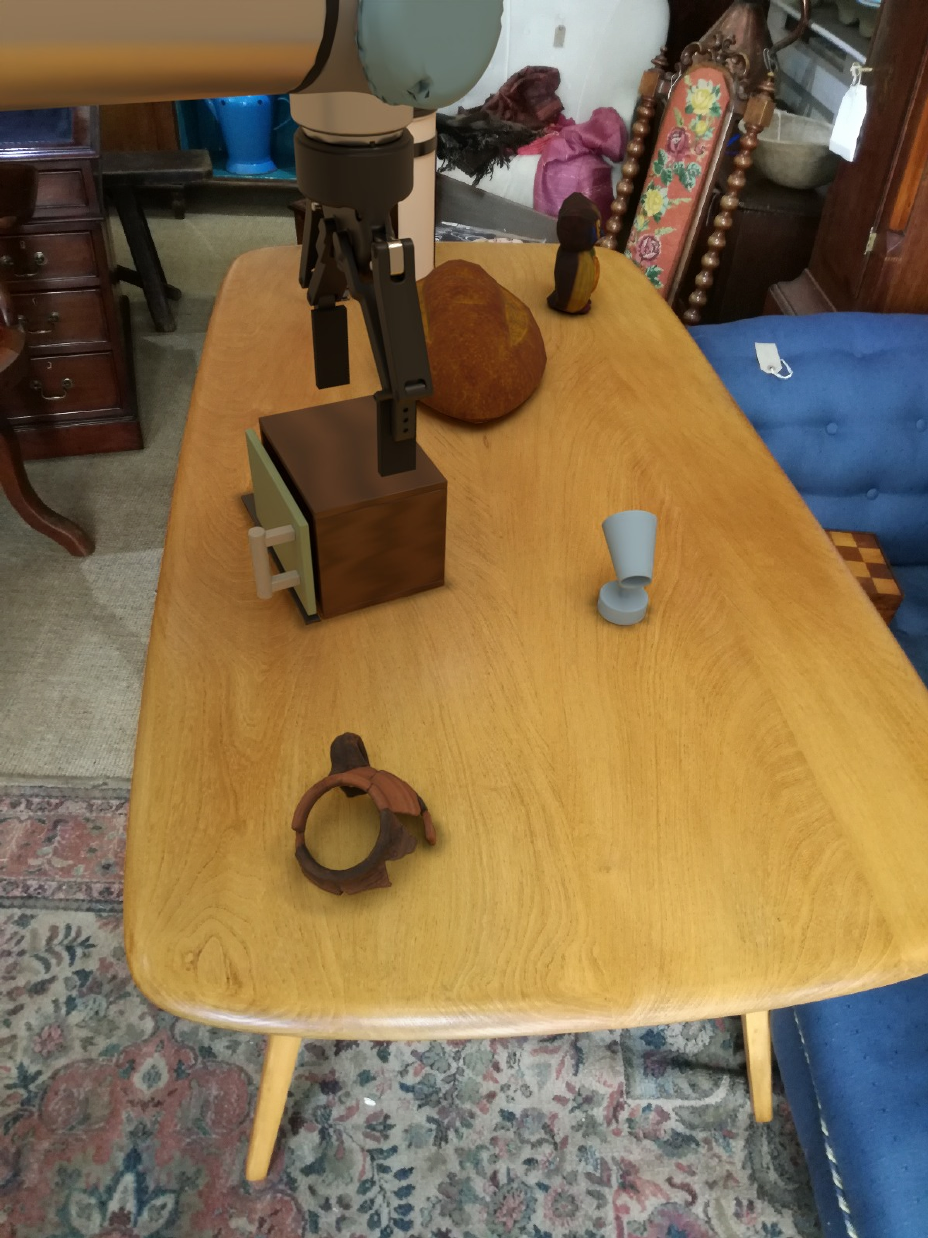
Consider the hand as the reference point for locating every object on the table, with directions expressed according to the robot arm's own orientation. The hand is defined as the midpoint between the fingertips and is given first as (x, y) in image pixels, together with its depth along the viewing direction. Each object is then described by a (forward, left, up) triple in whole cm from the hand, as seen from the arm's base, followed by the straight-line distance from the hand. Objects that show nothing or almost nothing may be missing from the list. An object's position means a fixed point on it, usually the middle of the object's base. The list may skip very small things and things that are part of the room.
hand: (363, 425), depth 72 cm
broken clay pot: (-9, -23, -20) cm, 31 cm away
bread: (+28, +38, -19) cm, 51 cm away
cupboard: (+1, +11, -19) cm, 22 cm away
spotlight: (+22, -9, -19) cm, 30 cm away
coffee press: (+28, +63, -19) cm, 72 cm away
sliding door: (-7, +8, -18) cm, 21 cm away
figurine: (+50, +48, -19) cm, 72 cm away
